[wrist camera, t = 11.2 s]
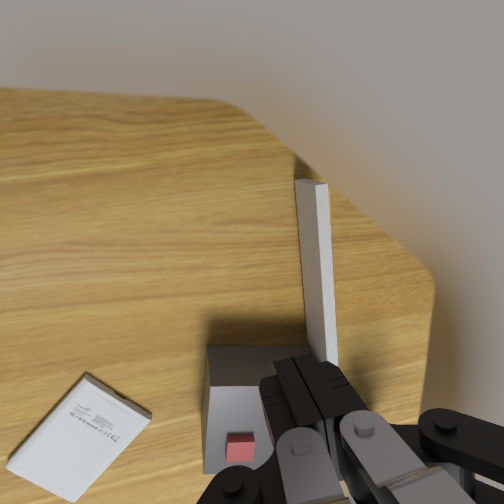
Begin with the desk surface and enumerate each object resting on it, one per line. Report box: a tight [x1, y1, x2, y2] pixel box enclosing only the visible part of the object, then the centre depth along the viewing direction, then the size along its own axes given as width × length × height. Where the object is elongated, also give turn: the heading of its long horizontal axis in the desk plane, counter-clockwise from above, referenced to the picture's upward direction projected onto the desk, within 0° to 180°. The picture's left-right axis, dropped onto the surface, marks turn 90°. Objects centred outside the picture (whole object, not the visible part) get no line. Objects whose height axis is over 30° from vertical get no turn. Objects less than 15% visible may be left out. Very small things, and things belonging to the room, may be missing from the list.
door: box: [295, 178, 338, 366], centre depth 34 cm, size 18×2×6 cm, turn 7°
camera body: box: [201, 345, 318, 474], centre depth 37 cm, size 13×9×8 cm
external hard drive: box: [5, 374, 152, 503], centre depth 38 cm, size 2×8×12 cm
